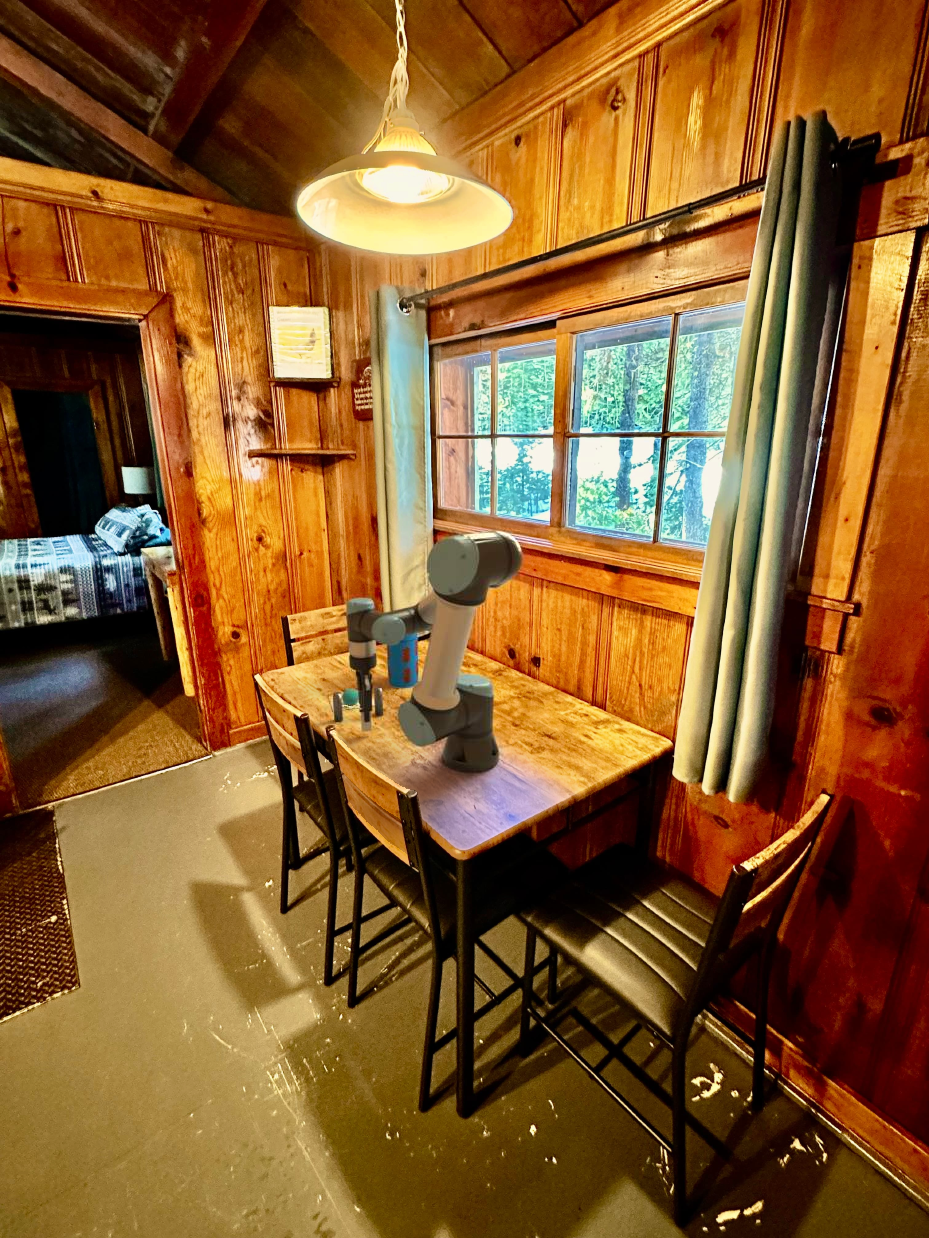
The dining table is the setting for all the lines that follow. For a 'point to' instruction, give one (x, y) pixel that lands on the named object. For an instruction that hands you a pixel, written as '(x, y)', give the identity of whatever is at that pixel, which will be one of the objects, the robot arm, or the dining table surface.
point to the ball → (350, 697)
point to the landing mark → (348, 707)
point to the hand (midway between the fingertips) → (366, 730)
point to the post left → (337, 707)
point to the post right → (378, 701)
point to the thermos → (403, 662)
